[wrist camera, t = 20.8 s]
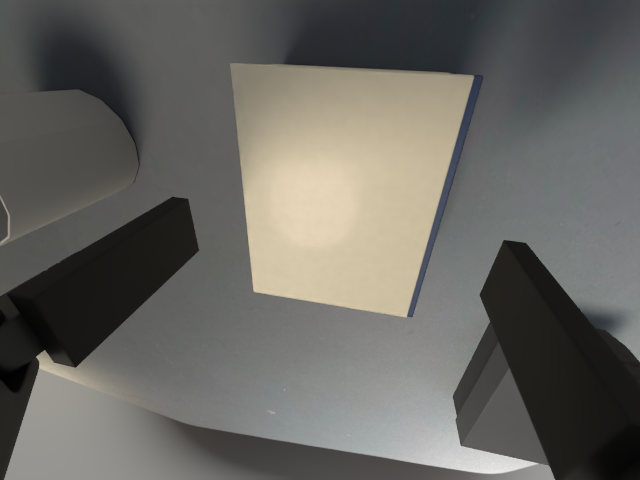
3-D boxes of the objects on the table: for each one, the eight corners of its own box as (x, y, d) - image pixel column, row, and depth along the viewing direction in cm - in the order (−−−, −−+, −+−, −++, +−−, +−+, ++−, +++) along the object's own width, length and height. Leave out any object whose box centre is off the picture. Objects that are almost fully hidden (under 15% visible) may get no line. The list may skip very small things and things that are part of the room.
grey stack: (599, 329, 24) (645, 385, 20) (532, 413, 31) (556, 467, 27) (492, 312, 25) (513, 361, 21) (450, 396, 32) (460, 446, 28)
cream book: (468, 74, 13) (485, 75, 11) (409, 292, 20) (412, 319, 18) (252, 63, 14) (229, 62, 12) (266, 270, 21) (253, 292, 19)
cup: (76, 189, 27) (-63, 243, 19) (26, 92, 23) (-181, 105, 15) (152, 190, 26) (38, 250, 17) (114, 87, 21) (-62, 97, 13)
